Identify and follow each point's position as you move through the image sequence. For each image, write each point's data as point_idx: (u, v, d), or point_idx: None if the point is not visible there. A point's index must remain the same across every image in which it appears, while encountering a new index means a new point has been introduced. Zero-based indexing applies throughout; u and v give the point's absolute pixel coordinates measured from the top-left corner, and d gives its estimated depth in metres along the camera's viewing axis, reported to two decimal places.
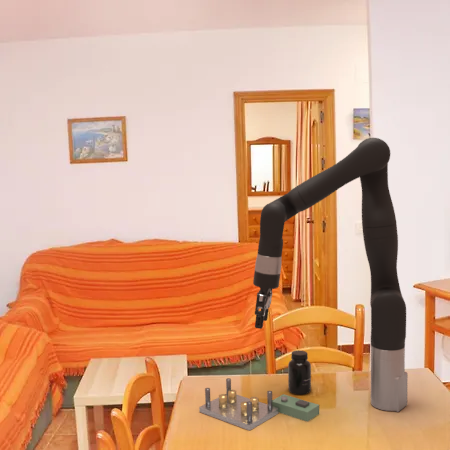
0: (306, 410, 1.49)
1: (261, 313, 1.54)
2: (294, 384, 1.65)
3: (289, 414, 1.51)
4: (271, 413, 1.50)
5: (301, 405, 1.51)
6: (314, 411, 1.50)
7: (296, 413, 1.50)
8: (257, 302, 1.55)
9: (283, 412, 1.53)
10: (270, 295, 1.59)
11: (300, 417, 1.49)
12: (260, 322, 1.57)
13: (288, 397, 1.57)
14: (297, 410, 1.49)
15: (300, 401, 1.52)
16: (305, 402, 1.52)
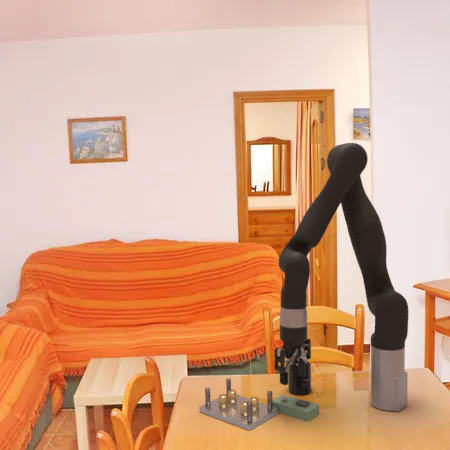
0: (306, 409, 1.49)
1: (280, 369, 1.47)
2: (294, 384, 1.65)
3: (289, 414, 1.51)
4: (271, 413, 1.50)
5: (301, 405, 1.51)
6: (314, 411, 1.50)
7: (297, 413, 1.50)
8: (275, 357, 1.47)
9: (283, 412, 1.52)
10: (295, 350, 1.49)
11: (301, 417, 1.49)
12: (283, 378, 1.48)
13: (288, 397, 1.57)
14: (298, 410, 1.49)
15: (300, 401, 1.52)
16: (305, 402, 1.52)
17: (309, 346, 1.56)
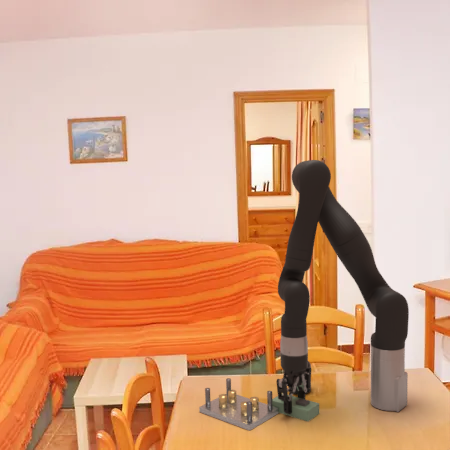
0: (306, 408, 1.49)
1: (283, 398, 1.48)
2: None
3: None
4: (271, 413, 1.50)
5: (301, 404, 1.51)
6: (314, 409, 1.50)
7: (297, 412, 1.50)
8: (278, 388, 1.48)
9: (283, 411, 1.52)
10: (296, 378, 1.50)
11: (301, 416, 1.49)
12: (287, 407, 1.50)
13: None
14: (297, 409, 1.49)
15: (300, 400, 1.52)
16: (305, 401, 1.52)
17: (310, 375, 1.57)
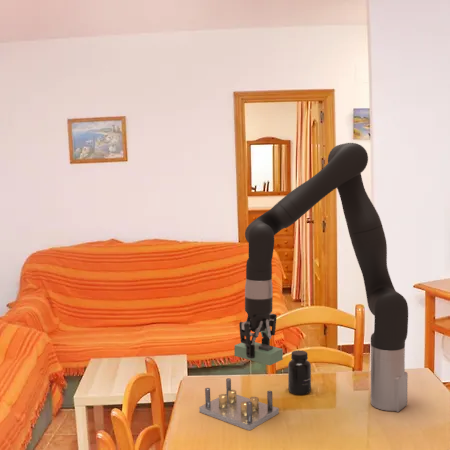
0: (268, 352, 1.47)
1: (246, 342, 1.47)
2: (294, 384, 1.65)
3: None
4: (271, 413, 1.50)
5: (264, 348, 1.49)
6: (277, 354, 1.49)
7: (259, 356, 1.48)
8: (240, 331, 1.47)
9: (246, 356, 1.51)
10: (260, 322, 1.49)
11: (263, 360, 1.47)
12: (249, 351, 1.48)
13: None
14: (260, 353, 1.48)
15: (263, 345, 1.51)
16: (268, 346, 1.50)
17: (275, 322, 1.55)
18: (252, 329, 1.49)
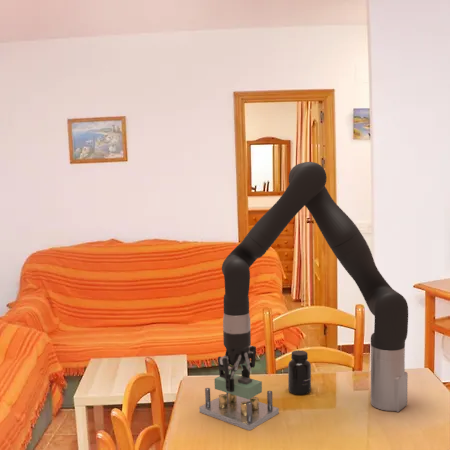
0: (247, 386, 1.48)
1: (225, 376, 1.48)
2: (294, 384, 1.65)
3: None
4: (271, 413, 1.50)
5: (243, 382, 1.50)
6: (256, 388, 1.50)
7: (238, 390, 1.49)
8: (219, 365, 1.48)
9: None
10: (238, 356, 1.50)
11: (242, 394, 1.49)
12: (229, 385, 1.50)
13: None
14: (239, 387, 1.49)
15: (243, 378, 1.52)
16: (247, 379, 1.51)
17: (254, 354, 1.56)
18: (231, 363, 1.50)
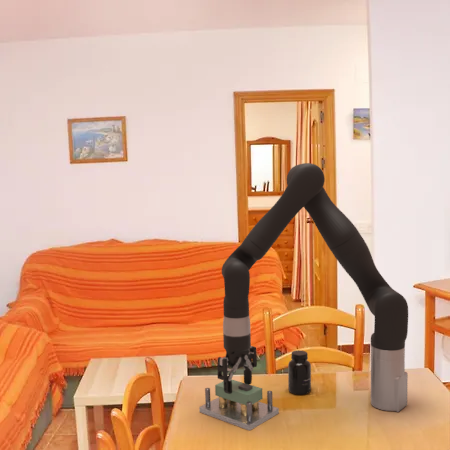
0: (248, 393, 1.49)
1: (222, 378, 1.47)
2: (294, 384, 1.65)
3: (232, 398, 1.51)
4: (271, 413, 1.50)
5: (244, 388, 1.50)
6: (256, 394, 1.50)
7: (238, 396, 1.50)
8: (218, 366, 1.48)
9: (226, 396, 1.52)
10: (238, 358, 1.50)
11: (242, 401, 1.49)
12: (226, 387, 1.49)
13: (233, 381, 1.57)
14: (239, 393, 1.49)
15: (243, 385, 1.52)
16: (248, 386, 1.52)
17: (255, 354, 1.57)
18: (230, 365, 1.50)
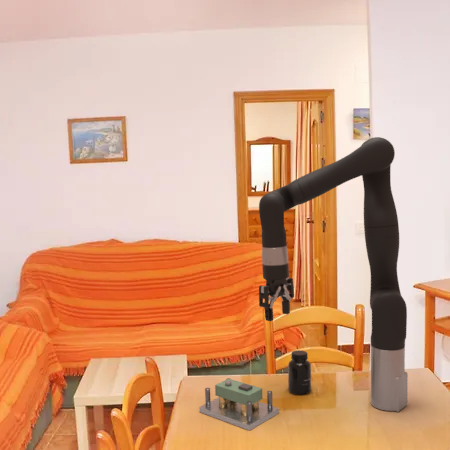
0: (248, 393, 1.49)
1: (264, 305, 1.53)
2: (294, 384, 1.65)
3: (232, 398, 1.51)
4: (271, 413, 1.50)
5: (244, 388, 1.50)
6: (256, 394, 1.50)
7: (238, 396, 1.50)
8: (260, 294, 1.54)
9: (226, 396, 1.52)
10: (278, 287, 1.56)
11: (242, 401, 1.49)
12: (268, 314, 1.55)
13: (233, 381, 1.57)
14: (239, 393, 1.49)
15: (243, 385, 1.52)
16: (248, 386, 1.52)
17: (292, 285, 1.63)
18: (270, 293, 1.57)
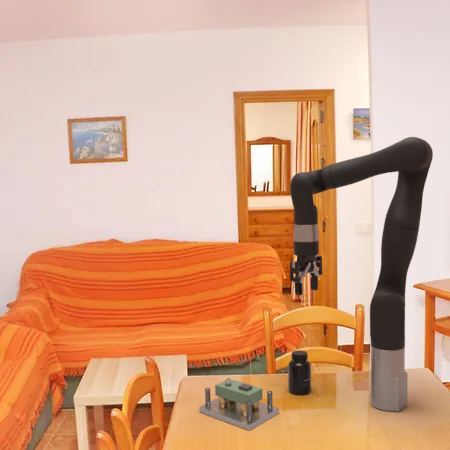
0: (248, 393, 1.49)
1: (295, 279, 1.60)
2: (294, 384, 1.65)
3: (232, 398, 1.51)
4: (271, 413, 1.50)
5: (244, 388, 1.50)
6: (256, 394, 1.50)
7: (238, 396, 1.50)
8: (291, 269, 1.61)
9: (226, 396, 1.52)
10: (308, 263, 1.63)
11: (242, 401, 1.49)
12: (298, 289, 1.62)
13: (233, 381, 1.57)
14: (239, 393, 1.49)
15: (243, 385, 1.52)
16: (248, 386, 1.52)
17: (321, 263, 1.70)
18: (301, 269, 1.63)
